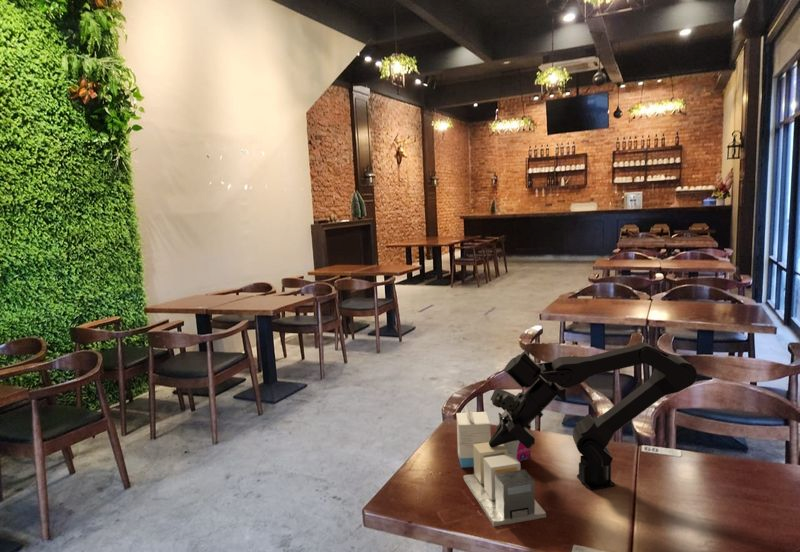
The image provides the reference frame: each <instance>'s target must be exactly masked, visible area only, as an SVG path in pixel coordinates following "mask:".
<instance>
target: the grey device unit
mask: <svg viewBox="0 0 800 552" xmlns="http://www.w3.org/2000/svg"><path fill="white" fill-rule="evenodd" d="M463 480H464V482H465V484H466V485H467V487H468V488H469V491H470V492H471V493H472V495H473V496H474V498H475V499H476V501H477V503H478V504H479V506H480V508H481V509H482V511H483V512H484V514H485V515H486V517H487V519H488V520H489V521H490V523H491V525H492V527H498V526H504V525H510V524H515V523H521V522H522V523H523V522H526V521H533V520H539V519H544V518H547V512H546V511H545V509H543V508H542V506H541V505H540V504H539V503H538V502H537V500H536V499H535V479H534V478H533V477H532V476H531V475H530V474H529V472H528V471H527V470H526V469H521V470H518V471H511V472H505V473H498V474H495V500H491V498H490V497H489V495H488V494H487V492H486V491H485V486H484V483H483V484H480V482H479V481H478V479H477V478H476V476H475V475H474V473H472V474H465V475H463Z"/></svg>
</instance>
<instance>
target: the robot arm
mask: <svg viewBox="0 0 800 552" xmlns="http://www.w3.org/2000/svg"><path fill="white" fill-rule="evenodd" d="M642 364H646V365H649V366H650V367H651V368H654V369H653V371H652V373H651V374H650V377H649V378H648V380H646V381H645V382H643V383H642V384H641V385H639V386H638V387H637V388H635V389H634V390H633V391H632V392H630V393H629V394H628V395H626V396H625V397H623V398H622V399H621V400H620V401H618V402H617V403H616V404H615V405H613V406H612V407H611V408H610V409H608V410H606V411H605V412H604V413H603V414H602V415H600V416H596V417H592V415H591V414H590V413H587V414H586V415H585V416H584V417H583V418H582V419H581V420H579V421H577V422H575V426H574V428H573V429H572V435H571V436H572V439H573V441H574V444H575V447H576V448H577V450H578V452H579V453H580V454H581V455H580V461H579V463H578V474H577V475H576V478H578V479H579V480H580V481H581V482H582V483H583V484H584V485H585V486H586V487H587V489H590V490H593V491H594V490H598V489H604V488H610V487H615V486H616V483H615V482H614V481H613V480H612V462H613V459H614V458H613V456H612V454H611V452H610V450H609V449H608V445H609V444H610V442H611V440H612V438H613V436H614V435H615V433H617V432H618V431H619V430H620V429H622V428H623V427H625V425H628V423H630V422H632V420H634V419H635V418H637V417H638V416H640V415H641V414H642V413H643V412H645V411H646V410H647V409H649V408H650V407H651V406H652V405H654V404H656V403H657V402H658V401H659V400H661V399H662V398H663V397H666V396H668V395H669V396H670V395H673V394H677V393H680V392H682V391H683V390H685V389H688V388H690V387H691V386H693V385H694V384H695V383H696V382H697V380H698V379H697V377H698V373H697V369H696V368H695V366H694V365H692V364H691V363H689V361H687V360H685V359H684V358H683V357H682V356H680V355H677V354H667V353H665V352H663V351H661V350H659V349H657V348H655V347H653V346H651V345H650V344H648V343H647V342H643V341H642V342H638V343H636V344H634V345H630V346H624V347H621V348H617V349H613V350H609V351H606V352H601V353H597V354H593V355H589V356H577V355H575V356H574V355H569V356H560V357H556V358H554V360H552V361H546V362H540V363H536V361H534V360H533V359H532V358H531V357H530V355H529V354H528V353H527V352H526V351H522V352H521V354H520V353H519V354H518V355H516V356H515V357H513V358H511V359H510V360H509V362H508V363H507V364H506V365H505V367H504V369H503V372H504V373H505V374H507V376H509V377H510V378H511V379H512V380H513V381H514V382H515V383H516V384H518V386H519V387H521V388H525V389H527V388H528V389H527V390H526V391H525V392H524V393H523V392H522V391H521V392H518V393H517V394H516V395H515V394H513V393H511V392H509V391H506V390H504V389H501V388H499V387H495V388H494V390H493V392H492V395H491V397H490V401H491V403H492V405H493V406H494V407H496V408H501V409H502V410H503V412H502V413H501V412H498V413H497V414H498V421H499V422H498V424H497V427H496V429H495V430H494V432H493V434H492V435H491V440H490V442H489V445H490V446H491V447H496V446H499V445H502V444H505V443H508V442H512V441H516V440H518V441H519V442H521V443H522V444H523V445H524V446H525V447H526V448H527V449H530V448H532V447H533V446H534V445H535V437H534V435H533V433H532V430H531V431H529V429H530V428H532V426H530V423H532V422H533V421H534V420H535V419H536V418H537V417H539V418H540V419H541V418H542V417H543V416H544V413H543V411H544V410H546V408H547V407H548V406H549V405H550V404H551V403H552V402H553V401H554V400H555V399H556V398H557V397H559V399H561V400H562V401H563V402H566V401H567V395H566V394H567V389H568V388H569V389H570V388H573V387H575V386H578V385H580V384H582V383H584V382H586V381H587V380H589V379H590V378H591V377H593V376H597V375H601V374H604V373H608V372H613V371H618V370H622V369H626V368H630V367H634V366H639V365H642Z"/></svg>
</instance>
